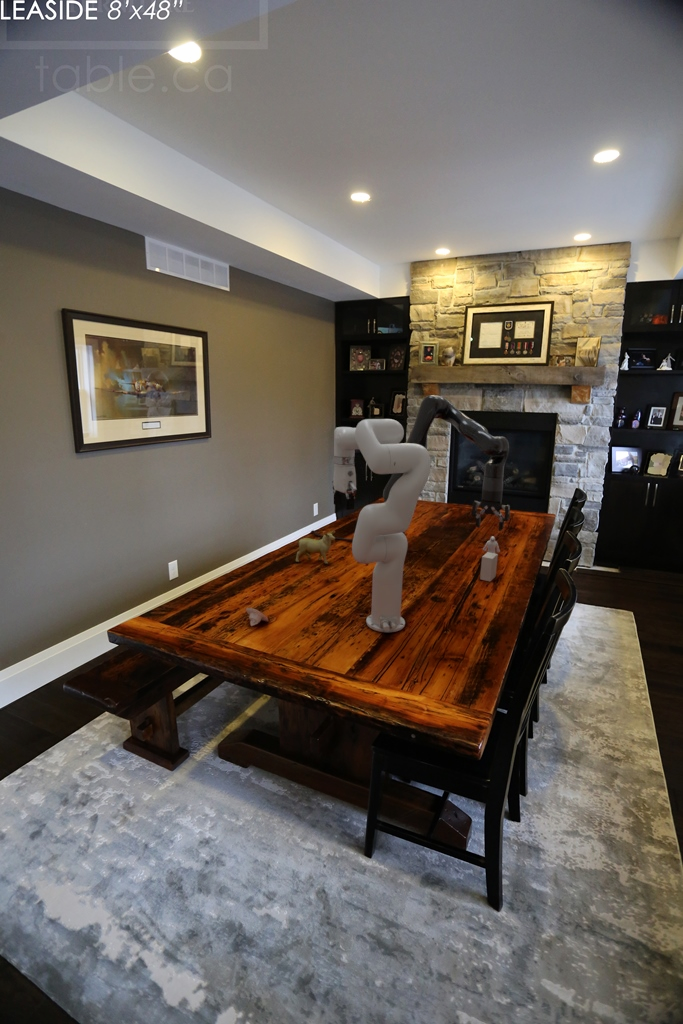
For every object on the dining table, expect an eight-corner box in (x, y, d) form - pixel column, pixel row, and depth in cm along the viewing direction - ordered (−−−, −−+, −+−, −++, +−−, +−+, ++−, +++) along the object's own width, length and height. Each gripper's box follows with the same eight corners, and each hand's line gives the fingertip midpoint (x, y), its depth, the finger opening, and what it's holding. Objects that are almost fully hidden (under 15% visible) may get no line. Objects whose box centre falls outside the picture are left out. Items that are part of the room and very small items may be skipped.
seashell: (251, 634, 162) (235, 615, 161) (262, 623, 165) (246, 604, 164) (262, 630, 156) (245, 610, 155) (273, 618, 159) (257, 599, 158)
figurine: (481, 562, 222) (483, 536, 219) (482, 556, 230) (484, 531, 227) (499, 564, 220) (501, 538, 217) (499, 558, 228) (501, 533, 225)
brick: (495, 576, 206) (497, 554, 203) (490, 581, 200) (492, 558, 198) (485, 574, 208) (487, 552, 206) (479, 579, 203) (481, 556, 200)
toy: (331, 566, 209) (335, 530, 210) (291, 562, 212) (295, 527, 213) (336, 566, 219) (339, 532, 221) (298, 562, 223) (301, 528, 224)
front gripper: (364, 463, 177) (363, 510, 181) (342, 458, 192) (341, 501, 196) (346, 464, 174) (345, 512, 178) (324, 458, 189) (324, 503, 193)
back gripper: (513, 489, 192) (509, 529, 196) (477, 485, 200) (474, 524, 204) (508, 492, 186) (504, 534, 190) (471, 488, 194) (468, 528, 198)
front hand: (343, 506), depth 187 cm, fingers open, 9 cm apart
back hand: (489, 528), depth 197 cm, fingers open, 8 cm apart
